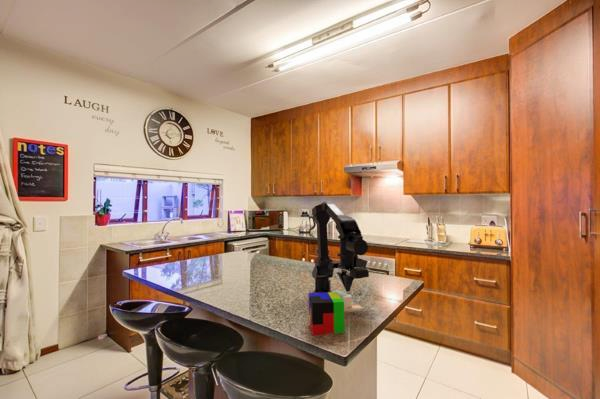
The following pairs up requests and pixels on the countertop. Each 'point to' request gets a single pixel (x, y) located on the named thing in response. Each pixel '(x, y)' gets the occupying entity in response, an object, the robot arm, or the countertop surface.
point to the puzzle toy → (326, 313)
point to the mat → (353, 308)
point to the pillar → (345, 298)
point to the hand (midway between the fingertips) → (347, 291)
